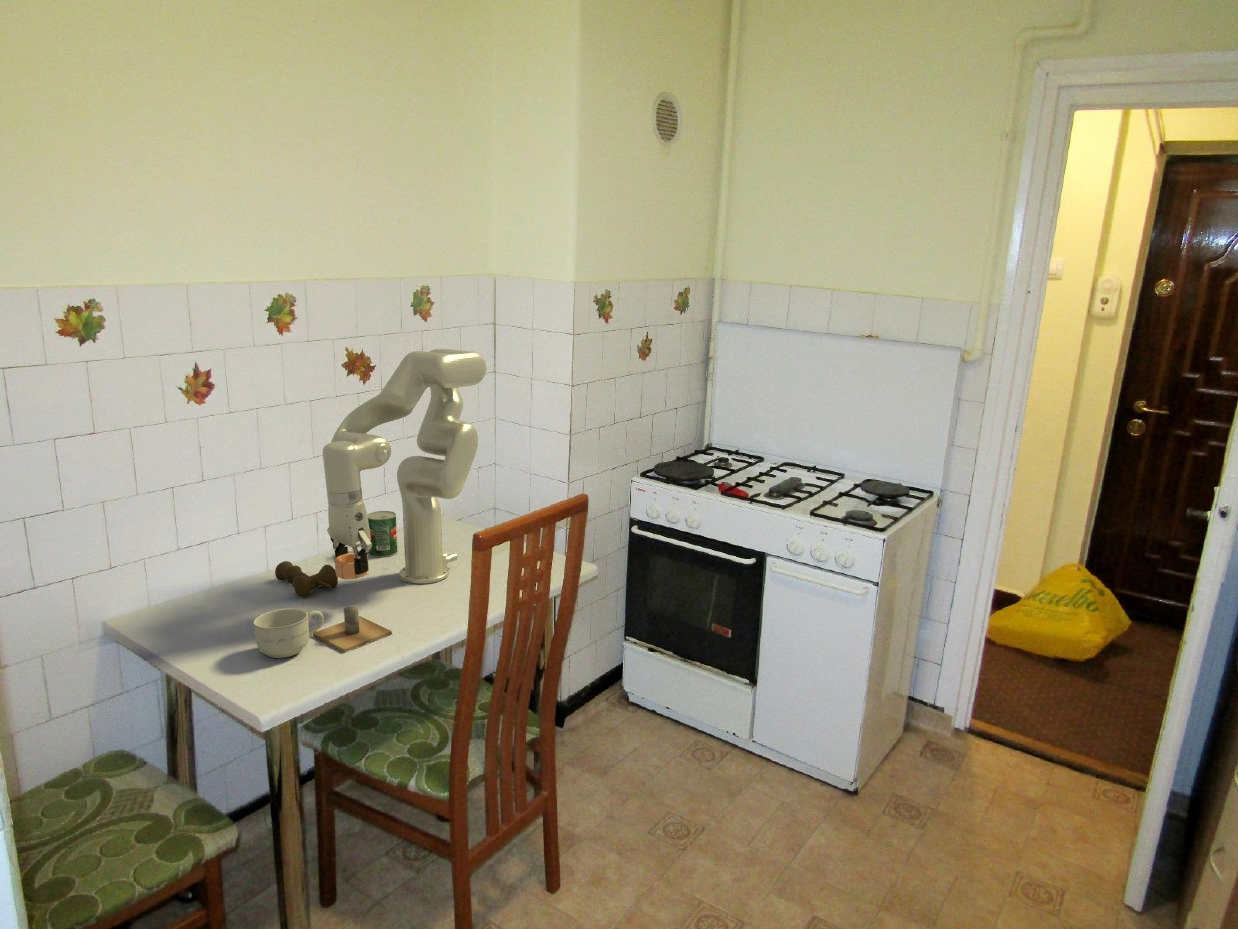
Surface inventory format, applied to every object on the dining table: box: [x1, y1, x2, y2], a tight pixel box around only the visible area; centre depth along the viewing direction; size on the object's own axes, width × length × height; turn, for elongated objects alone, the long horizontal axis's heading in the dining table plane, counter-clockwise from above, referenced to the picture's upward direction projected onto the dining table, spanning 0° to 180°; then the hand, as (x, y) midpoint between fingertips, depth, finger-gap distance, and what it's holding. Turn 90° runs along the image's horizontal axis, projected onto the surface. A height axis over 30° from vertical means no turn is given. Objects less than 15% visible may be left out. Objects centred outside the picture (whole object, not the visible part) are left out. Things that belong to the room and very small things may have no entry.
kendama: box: [274, 560, 339, 599], centre depth 220 cm, size 6×10×20 cm
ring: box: [334, 552, 370, 580], centre depth 205 cm, size 7×7×4 cm
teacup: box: [252, 608, 325, 659], centre depth 186 cm, size 14×11×8 cm
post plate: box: [312, 605, 393, 654], centre depth 194 cm, size 12×12×6 cm
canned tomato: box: [367, 510, 399, 558], centre depth 244 cm, size 8×8×11 cm
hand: (352, 568), depth 205 cm, fingers closed on ring, 7 cm apart
